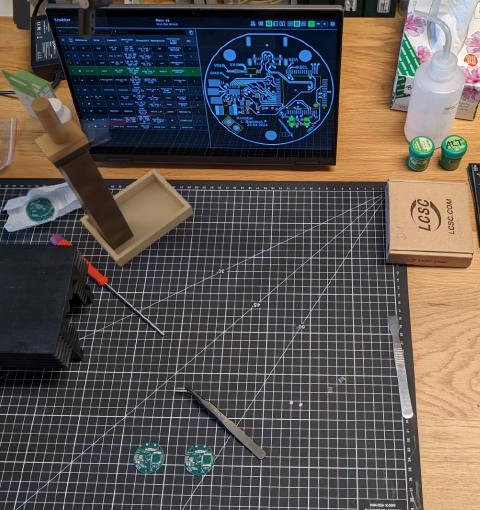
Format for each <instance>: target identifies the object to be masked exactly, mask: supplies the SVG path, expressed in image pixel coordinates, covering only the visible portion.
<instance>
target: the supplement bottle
mask: <svg viewBox="0 0 480 510" xmlns="http://www.w3.org/2000/svg"><path fill="white" fill-rule="evenodd" d="M48 100H49V101H50V103H51V105H52V107H53V109H54V110H55V112H56V114H57V116H58V117H59V119H60V121H61V123H62V124H63V123H65V122H67V121H68V120H70V119H72V120H73V121H74V122H75V124H76V125H77V126H78V127H79V128H80V126H79V124H78V123H77V121H76V119H75V117H74V115H73V113H72V112H71V110H70V108H69V107H68V106H67V105H64V104H63V103H62V101H61V99H60V98H58V97H57V98H49V99H48Z"/></svg>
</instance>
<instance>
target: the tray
mask: <svg viewBox="0 0 480 510" xmlns="http://www.w3.org/2000/svg"><path fill="white" fill-rule="evenodd" d="M112 196H113V198H114V199H115V201H116V203H117V205H118V207H119V209H120V211H121V212H122V214H123V216H124V218H125V220H126V222H127V224H128V225H129V227H130V229H131V231H132V233H133V235H134V236H133V237H132V238H131V239H129V240H128V241H126V242H125V243H124V244H122V245H121V246H119V247H118V248H117V249H115V250H113V249H112V248H111V247H110V246H109V245H108V243H107V242H106V241H105V240H104V239H103V238H102V237H101V236H100V234H99V233H98V231H97V229H96V228H95V226H94V225H93V223H92V222H91V220H90V218H89V217H88V215H87V214H85V215H84V216H82V217H81V218H80V219H79V221H80V222H81V224H82V225H83V226H84V228H86V230H87V231H88V232H89V233H90V235H91V236H92V237H93V238H94V239H95V240H96V241H97V242H98V244H99V245H100V246H101V247H102V248H103V250H105V252H107V254H108V255H109V256H110V257H111V259H112V260H113V261H115V263H116V264H117V266H119V267H123V266H124V265H125V264H127V263H128V262H130V261H131V260H133V259H134V258H135V257H136V256H138V255H139V254H140V253H143V251H145V250H146V249H147V248H148V247H150V246H151V245H153V244H154V243H156V242H157V241H158V240H160V239H161V238H162V237H164V236H166V235H167V234H168V233H170V231H172V230H173V229H174V228H176V227H177V226H179V225H180V224H182V223H183V222H184V221H186V220H187V219H188V218H190V217H191V216H193V215H194V210H193V206H192V205H190V203H189V202H188V201H187V200H186V199H185V198H184V197H183V196H182V195H181V194H180V193H179V192H178V191H177V190H176V189H175V188H174V187H173V186H172V185H171V184H170V183H169V182H168V181H167V180H166V179H165V178H164V177H163V175H161V174H160V173H159V172H158V171H157V170H156V168H153V169H151V170H149V171H148V172H147V173H145V174H144V175H142V176H140V177H139V178H138V179H136V180H135V181H134V182H132V183H130V184H129V185H127V186H126V187H124V188H123V189H122V190H120V191H119V192H117V193H116V194H115V195H112Z"/></svg>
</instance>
